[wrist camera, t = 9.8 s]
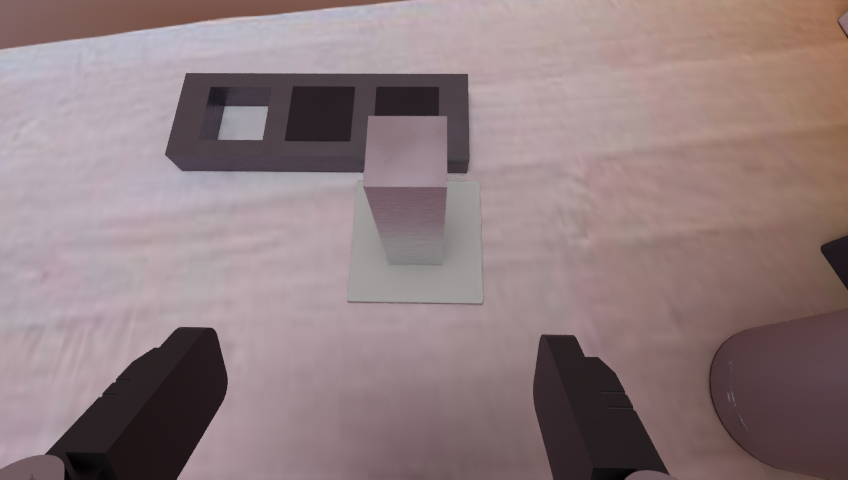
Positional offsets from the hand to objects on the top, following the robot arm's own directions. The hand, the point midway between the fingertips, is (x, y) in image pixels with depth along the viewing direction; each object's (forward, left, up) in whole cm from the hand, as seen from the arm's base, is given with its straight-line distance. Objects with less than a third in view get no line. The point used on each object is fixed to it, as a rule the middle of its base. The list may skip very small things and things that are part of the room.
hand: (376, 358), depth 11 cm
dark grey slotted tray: (+8, -21, -21) cm, 30 cm away
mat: (0, -11, -21) cm, 23 cm away
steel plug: (0, -10, -20) cm, 23 cm away
